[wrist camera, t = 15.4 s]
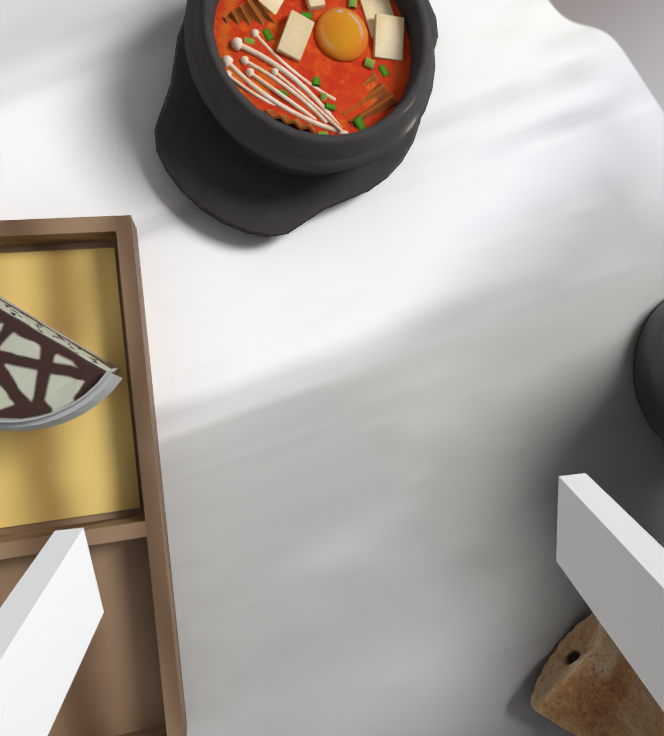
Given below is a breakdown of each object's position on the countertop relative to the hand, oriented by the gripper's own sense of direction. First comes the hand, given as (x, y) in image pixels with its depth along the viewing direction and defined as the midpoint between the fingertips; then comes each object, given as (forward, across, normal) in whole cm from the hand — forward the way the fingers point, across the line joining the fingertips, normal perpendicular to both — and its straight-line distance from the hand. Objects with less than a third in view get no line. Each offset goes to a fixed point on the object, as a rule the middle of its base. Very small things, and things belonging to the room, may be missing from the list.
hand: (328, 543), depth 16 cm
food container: (+24, -19, 0) cm, 31 cm away
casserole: (+35, +1, +17) cm, 39 cm away
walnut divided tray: (+23, -18, -9) cm, 30 cm away
